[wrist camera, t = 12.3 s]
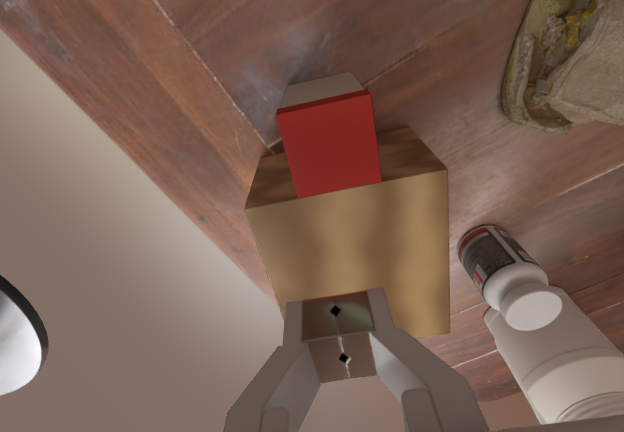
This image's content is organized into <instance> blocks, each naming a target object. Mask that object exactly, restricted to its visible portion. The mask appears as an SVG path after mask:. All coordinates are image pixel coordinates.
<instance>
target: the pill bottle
mask: <svg viewBox="0 0 624 432" xmlns="http://www.w3.org/2000/svg"><path fill="white" fill-rule="evenodd" d="M458 258H459V260H460V262H461V263H462V265H463V266H464V268H465V269H466V271H467V273H468V274H469V276H470V277H471V279H472V280H473V282H474V283H475V285H476V287H477V288H478V290H479V291H480V293H481V294H482V296H483V297H484V299H485V300H486V302H487V303H488V304H489V305H490V306H491V307H492V308H494V309H496V310H498V311H500V313H501V315H502V316H503V318H504V319H505V320H506V322H507V323H508V324H509V325H510V326H511V327H512V328H514V329H517V330H522V331H529V330H535V329H538V328H541V327H544V326H546V325H548V324H549V323H551V322H552V321H553V320H554V319H555V318H556V317H557V316H558V315H559V313H560V312H561V309H562V301H561V299H560V297H559V296H558V294H557V293H556V292H555V291H554V290H553V289H552V288H551V287H550V286H549V284H548V278H547V275H546V273H545V272H544V271H543V269H542V268H541V267H540V266H539V265H538V264H537V263H536V262H535V261H534V260H533V259H532V258H531V257H530V256H529V254H528V253H527V252H526V251H525V250H524V249H523V248H522V247H521V246H520V245H519V244H518V243H517V242H516V241H515V240H514V239H513V237H512V236H511V235H510V234H509V233H508V232H507V231H506V230H504V229H503V228H501V227H498V226H492V225H487V226H481V227H478V228H476V229H474V230H472V231H470V232H469V233H467V234H466V235H465V236H464V237H463V239H462V240H461V241H460V243H459V246H458Z"/></svg>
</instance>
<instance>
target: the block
mask: <svg viewBox="0 0 624 432" xmlns="http://www.w3.org/2000/svg"><path fill="white" fill-rule="evenodd" d="M376 137H377V145H378V153H379V161H380V170H381V178H382V181H381V182H377V183H372V184H366V185H361V186H356V187H351V188H346V189H341V190H336V191H331V192H326V193H321V194H316V195H311V196H306V197H301V198H298V197H297V194H296V190H295V187H294V183H293V179H292V175H291V171H290V168H289V164H288V160H287V156H286V153H281V154H276V155H271V156H267V157H262V158H260V160H259V164H258V167H257V170H256V173H255V176H254V179H253V183H252V186H251V189H250V192H249V195H248V198H247V201H246V205H245V208H244V211H245V214H246V216H247V219H248V222H249V225H250V228H251V230H252V233H253V236H254V239H255V242H256V244H257V247H258V250H259V253H260V256H261V258H262V261H263V264H264V267H265V270H266V272H267V275H268V278H269V281H270V284H271V286H272V289H273V292H274V295H275V298H276V300H277V303H278V306H279V309H280V312H281V314H282V317H283V320H284V321H285V307H286V304H287V302H294V301H301V300H305V299H312V298H319V297H327V296H334V295H339V294H344V293H350V292H356V291H361V290H366V289H372V288H377V287H383V288H384V290H385V294H386V297H387V301H388V304H389V308H390V311H391V315H392V318H393V322H394V325H395V328H402V329H403V330H404V331H405V332H407V333H408V334H409V335H411V336H412V337H413V338H414V339H416V338H422V337H429V336H435V335H442V334H448V333H450V278H449V208H448V169H447V168H446V167H445V165H444V164H443V163H442V162H441V161H440V160H439V159H438V158H437V157H436V156H435V155H434V153H433V152H432V151H431V150H430V149H429V148H428V147H427V146H426V145H425V144H424V143H423V142H422V140H421V139H420V138H419V137H418V136H417V135H416V134H415V133H414V132H413V131H412V130H411V128H410V127H405V128H400V129H395V130H391V131H386V132H381V133H376Z"/></svg>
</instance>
